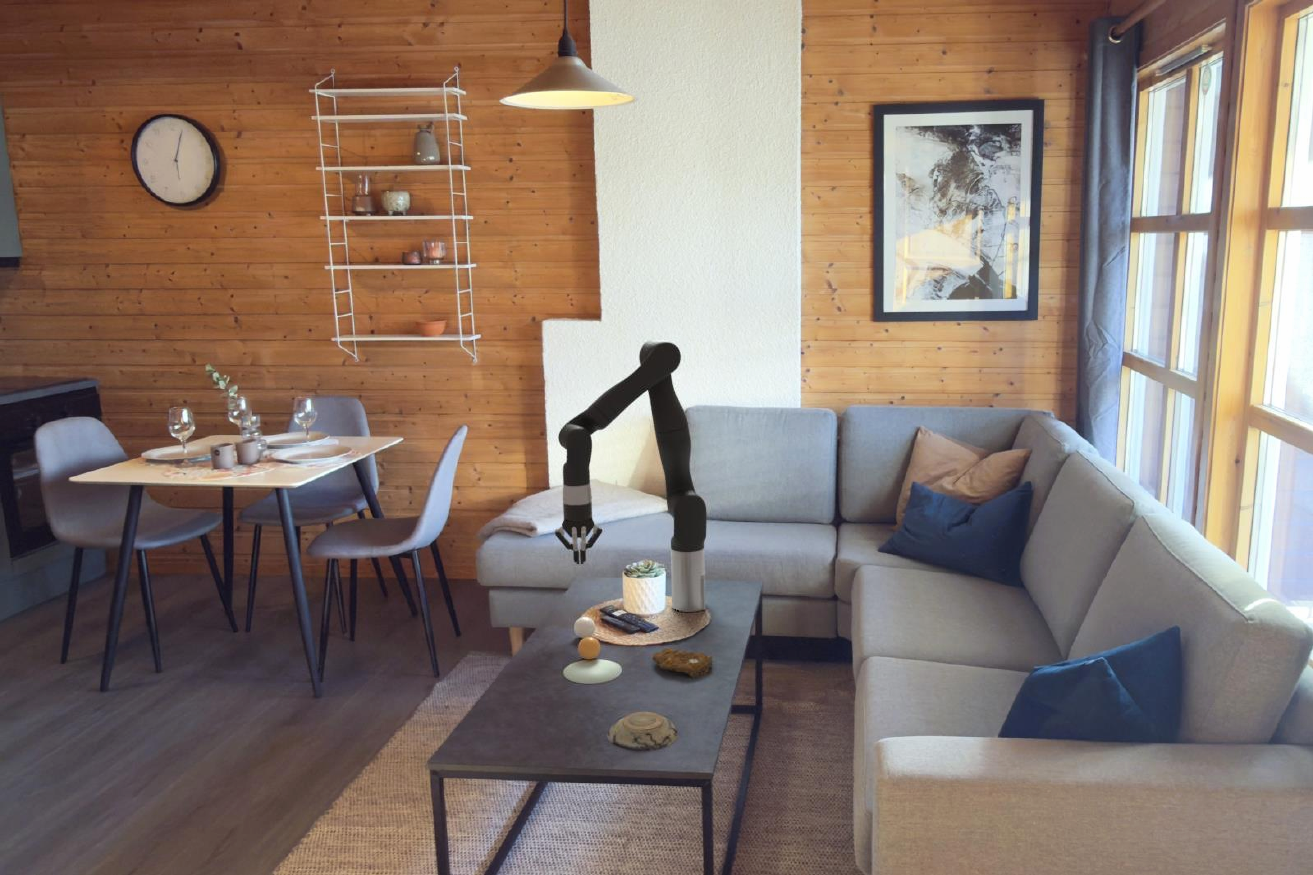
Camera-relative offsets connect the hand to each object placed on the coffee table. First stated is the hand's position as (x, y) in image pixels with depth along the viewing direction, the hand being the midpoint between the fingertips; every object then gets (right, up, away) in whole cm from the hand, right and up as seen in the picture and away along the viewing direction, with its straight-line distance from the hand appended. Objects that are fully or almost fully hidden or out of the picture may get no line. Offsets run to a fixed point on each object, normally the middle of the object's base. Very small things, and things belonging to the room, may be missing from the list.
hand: (579, 563), depth 279 cm
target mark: (+5, -23, -28) cm, 36 cm away
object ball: (+4, -18, -21) cm, 28 cm away
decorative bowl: (+18, -29, -60) cm, 69 cm away
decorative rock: (+26, -22, -27) cm, 44 cm away
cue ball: (+2, -16, -7) cm, 17 cm away
